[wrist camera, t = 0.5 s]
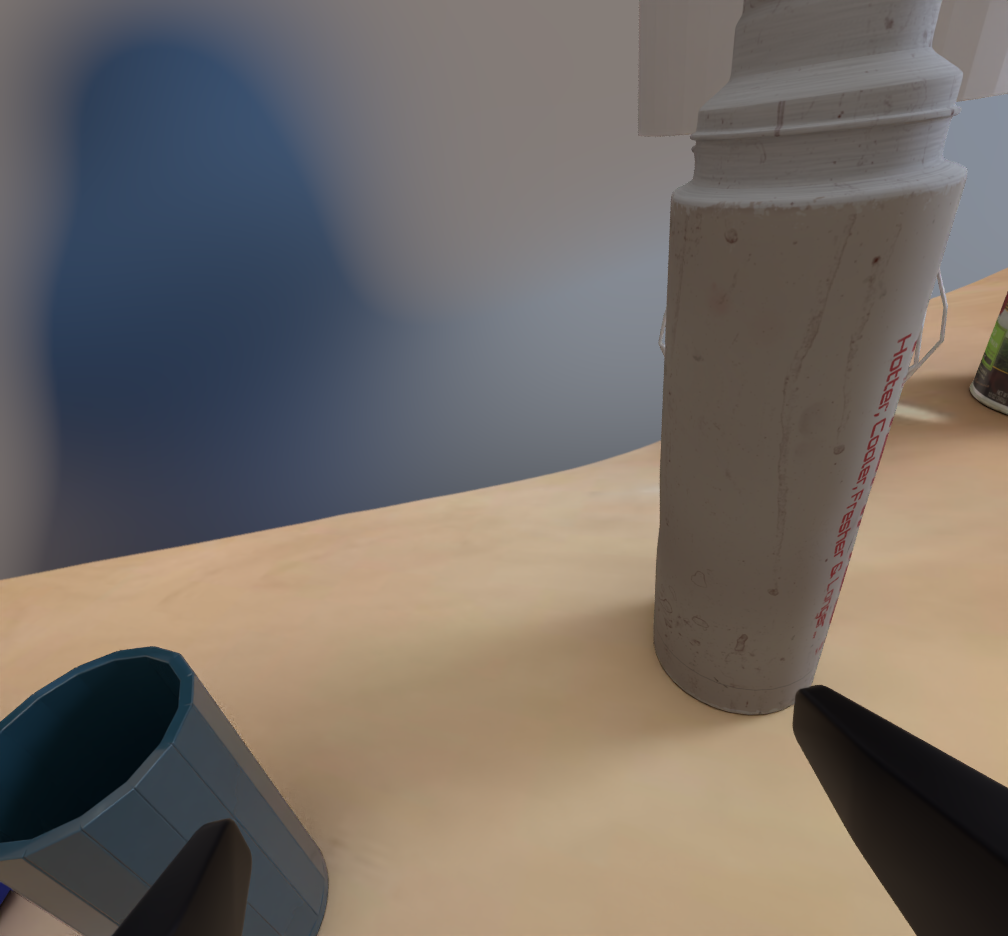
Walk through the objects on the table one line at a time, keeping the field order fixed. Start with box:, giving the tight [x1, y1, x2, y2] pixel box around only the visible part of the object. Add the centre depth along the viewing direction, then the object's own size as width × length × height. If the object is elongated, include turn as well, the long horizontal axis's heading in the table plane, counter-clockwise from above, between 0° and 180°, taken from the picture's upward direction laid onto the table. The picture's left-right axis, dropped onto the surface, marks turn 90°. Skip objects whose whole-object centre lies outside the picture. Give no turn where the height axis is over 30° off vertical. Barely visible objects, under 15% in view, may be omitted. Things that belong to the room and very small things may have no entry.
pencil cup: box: [0, 646, 328, 936], centre depth 18 cm, size 6×6×13 cm
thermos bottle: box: [654, 0, 967, 715], centre depth 21 cm, size 8×8×28 cm
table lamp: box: [638, 0, 1008, 383], centre depth 35 cm, size 22×22×40 cm
